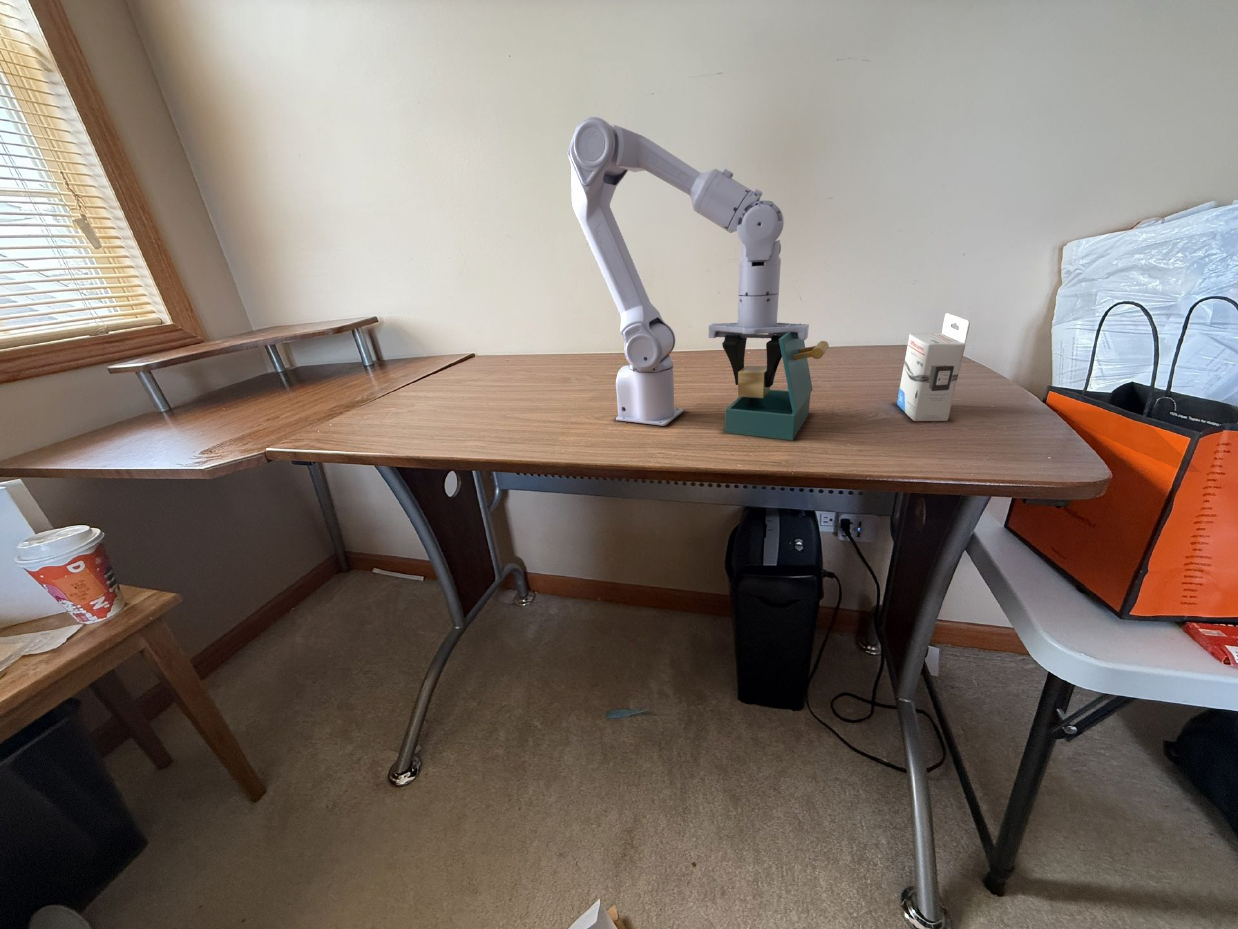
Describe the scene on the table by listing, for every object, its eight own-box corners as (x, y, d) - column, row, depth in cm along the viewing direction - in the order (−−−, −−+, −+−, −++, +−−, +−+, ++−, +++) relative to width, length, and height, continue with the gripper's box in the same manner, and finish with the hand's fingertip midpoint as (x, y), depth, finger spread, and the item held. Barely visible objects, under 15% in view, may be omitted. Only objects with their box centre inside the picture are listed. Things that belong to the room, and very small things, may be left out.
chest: (724, 432, 75) (725, 409, 73) (747, 408, 84) (748, 387, 82) (792, 440, 70) (794, 416, 68) (808, 414, 79) (810, 392, 77)
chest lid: (778, 339, 65) (814, 331, 62) (797, 324, 74) (828, 316, 72) (792, 413, 68) (827, 409, 65) (808, 390, 77) (839, 385, 75)
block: (737, 396, 75) (738, 371, 74) (745, 389, 79) (745, 365, 77) (763, 398, 73) (764, 372, 72) (769, 391, 77) (770, 366, 75)
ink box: (895, 404, 80) (911, 313, 74) (927, 404, 79) (946, 312, 73) (913, 422, 73) (932, 322, 67) (949, 422, 72) (972, 320, 66)
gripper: (701, 298, 70) (701, 388, 76) (805, 296, 63) (796, 395, 69) (717, 292, 76) (716, 376, 81) (814, 290, 69) (806, 382, 74)
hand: (754, 384), depth 75 cm, fingers open, 4 cm apart
